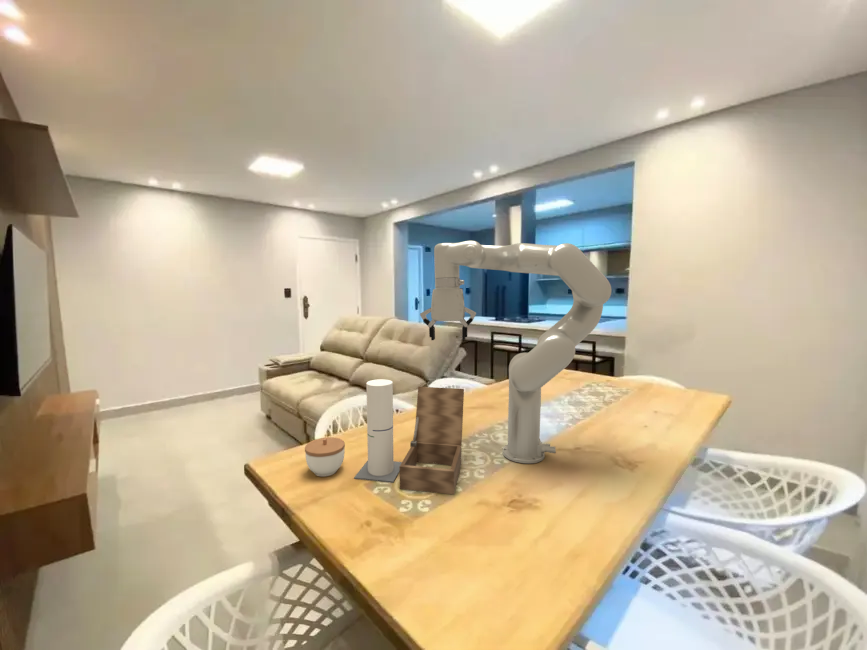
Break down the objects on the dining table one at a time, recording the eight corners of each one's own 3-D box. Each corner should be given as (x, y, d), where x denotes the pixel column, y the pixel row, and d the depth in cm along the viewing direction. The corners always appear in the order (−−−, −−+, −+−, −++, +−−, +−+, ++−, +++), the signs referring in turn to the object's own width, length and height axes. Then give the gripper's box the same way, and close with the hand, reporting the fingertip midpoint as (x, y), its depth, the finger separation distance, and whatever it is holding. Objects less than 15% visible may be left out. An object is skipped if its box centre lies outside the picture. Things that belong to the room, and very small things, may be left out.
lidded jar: (304, 466, 107) (303, 435, 106) (341, 459, 112) (341, 429, 111) (307, 484, 98) (306, 450, 97) (348, 476, 102) (347, 443, 101)
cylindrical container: (389, 477, 100) (387, 386, 98) (364, 474, 102) (362, 385, 99) (396, 464, 107) (395, 380, 105) (373, 462, 109) (372, 378, 106)
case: (463, 455, 114) (464, 388, 112) (453, 494, 93) (454, 412, 91) (418, 451, 117) (417, 385, 115) (398, 488, 95) (397, 408, 93)
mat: (404, 463, 109) (404, 462, 109) (393, 482, 98) (393, 481, 98) (368, 460, 111) (368, 459, 111) (354, 478, 100) (354, 477, 100)
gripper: (476, 283, 116) (476, 337, 118) (421, 285, 119) (423, 338, 121) (475, 283, 109) (475, 341, 111) (417, 285, 112) (418, 341, 113)
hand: (448, 339), depth 116 cm, fingers open, 9 cm apart
